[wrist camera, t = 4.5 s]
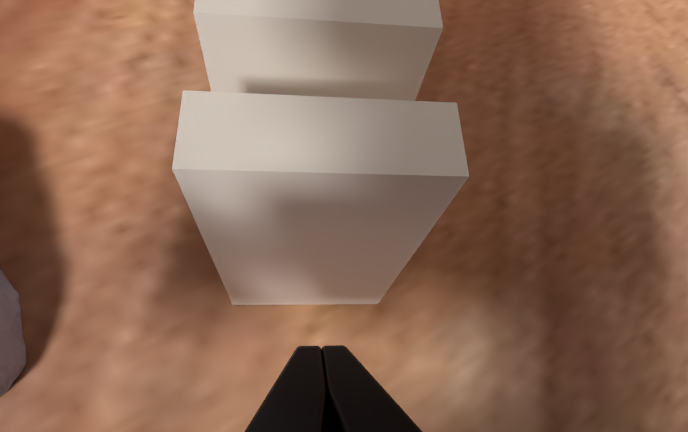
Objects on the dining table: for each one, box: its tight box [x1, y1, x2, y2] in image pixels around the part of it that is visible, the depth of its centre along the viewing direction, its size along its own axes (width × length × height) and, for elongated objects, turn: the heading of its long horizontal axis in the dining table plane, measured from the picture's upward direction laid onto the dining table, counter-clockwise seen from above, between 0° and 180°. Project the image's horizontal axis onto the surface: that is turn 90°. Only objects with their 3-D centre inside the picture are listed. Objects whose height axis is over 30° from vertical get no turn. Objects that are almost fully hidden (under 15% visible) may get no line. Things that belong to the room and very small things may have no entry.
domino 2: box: [193, 0, 443, 101], centre depth 14 cm, size 2×5×9 cm, turn 92°
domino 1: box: [172, 90, 469, 305], centre depth 12 cm, size 2×5×9 cm, turn 92°
